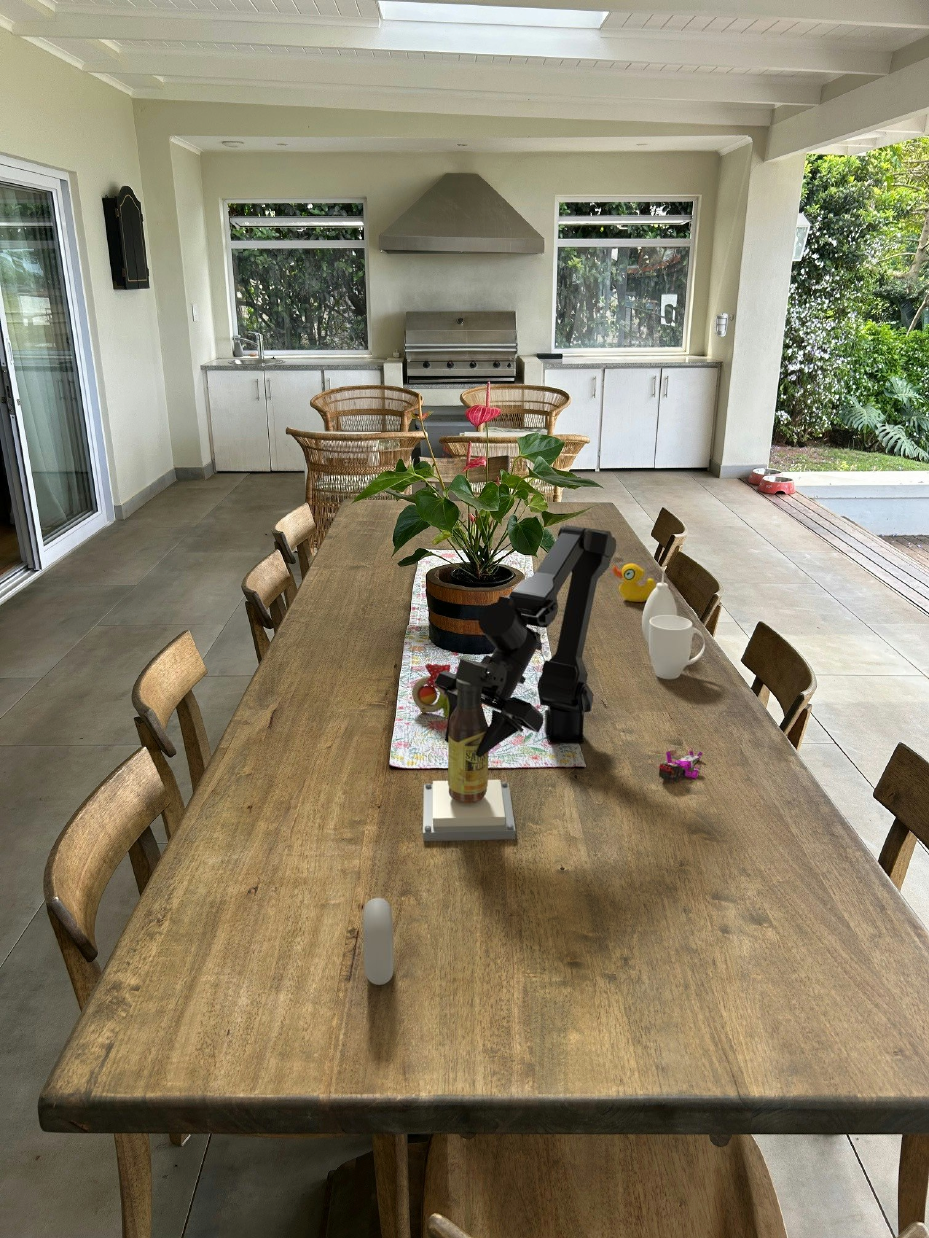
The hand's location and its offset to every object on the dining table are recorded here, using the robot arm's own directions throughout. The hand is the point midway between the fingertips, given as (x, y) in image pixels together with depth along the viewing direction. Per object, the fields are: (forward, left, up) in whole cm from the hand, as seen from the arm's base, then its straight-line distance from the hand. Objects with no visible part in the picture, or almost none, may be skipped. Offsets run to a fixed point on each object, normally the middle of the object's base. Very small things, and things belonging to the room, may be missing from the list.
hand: (461, 748), depth 141 cm
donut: (+11, +34, -12) cm, 38 cm away
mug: (-47, -54, -12) cm, 72 cm away
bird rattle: (+4, -37, -13) cm, 39 cm away
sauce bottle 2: (-47, -69, -12) cm, 84 cm away
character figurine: (-38, -13, -13) cm, 42 cm away
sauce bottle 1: (-1, -1, -9) cm, 9 cm away
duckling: (-48, -101, -12) cm, 112 cm away
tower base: (-1, -1, -12) cm, 12 cm away
